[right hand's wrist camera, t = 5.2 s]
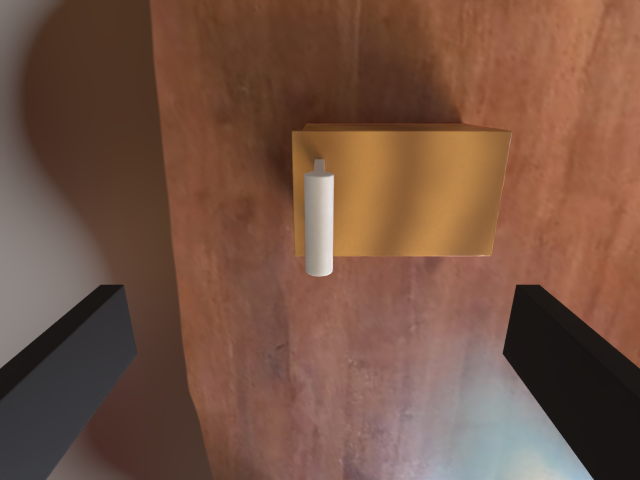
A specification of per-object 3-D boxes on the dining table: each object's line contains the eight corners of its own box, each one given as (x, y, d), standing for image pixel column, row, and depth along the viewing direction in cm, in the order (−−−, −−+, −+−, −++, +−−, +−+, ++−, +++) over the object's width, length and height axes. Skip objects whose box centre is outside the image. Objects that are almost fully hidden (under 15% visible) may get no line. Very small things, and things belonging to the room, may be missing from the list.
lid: (295, 250, 32) (286, 303, 24) (292, 130, 29) (281, 141, 20) (485, 251, 32) (543, 303, 24) (505, 129, 29) (581, 141, 20)
